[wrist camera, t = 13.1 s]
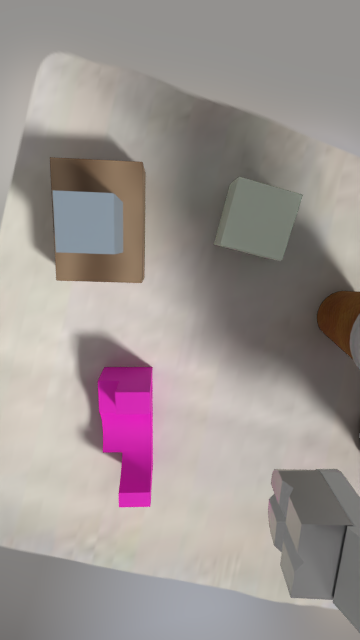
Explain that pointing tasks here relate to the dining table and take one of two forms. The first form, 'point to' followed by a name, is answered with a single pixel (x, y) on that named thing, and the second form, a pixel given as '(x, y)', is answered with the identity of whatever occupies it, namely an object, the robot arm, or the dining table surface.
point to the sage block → (257, 219)
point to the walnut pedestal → (130, 189)
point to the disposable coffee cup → (342, 321)
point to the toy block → (129, 429)
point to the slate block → (88, 222)
